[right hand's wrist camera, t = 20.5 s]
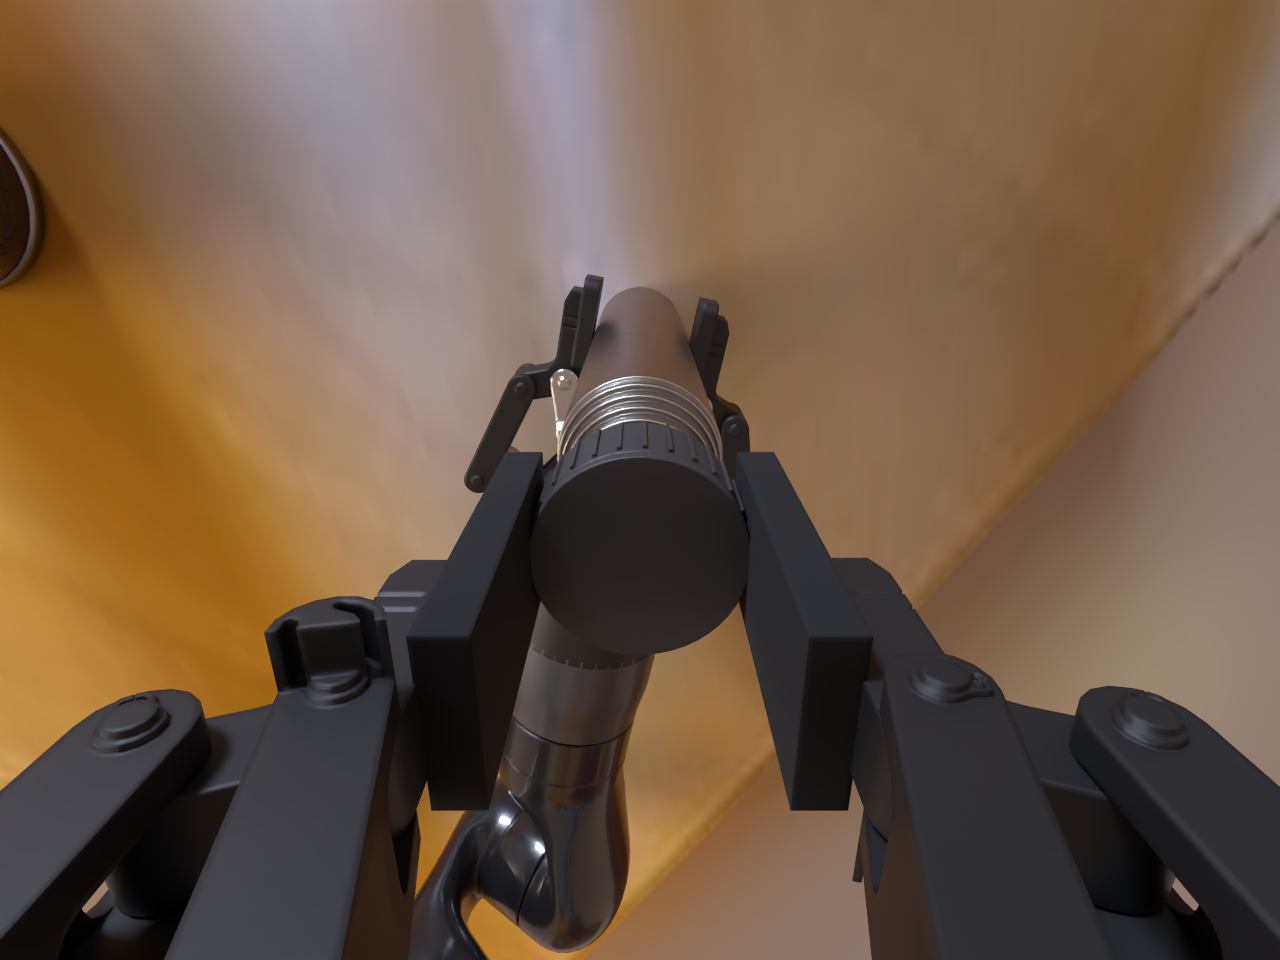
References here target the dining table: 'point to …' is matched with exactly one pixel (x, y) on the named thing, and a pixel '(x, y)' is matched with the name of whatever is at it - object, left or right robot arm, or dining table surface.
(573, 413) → the bottle
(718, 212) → the dining table surface
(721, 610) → the cap
